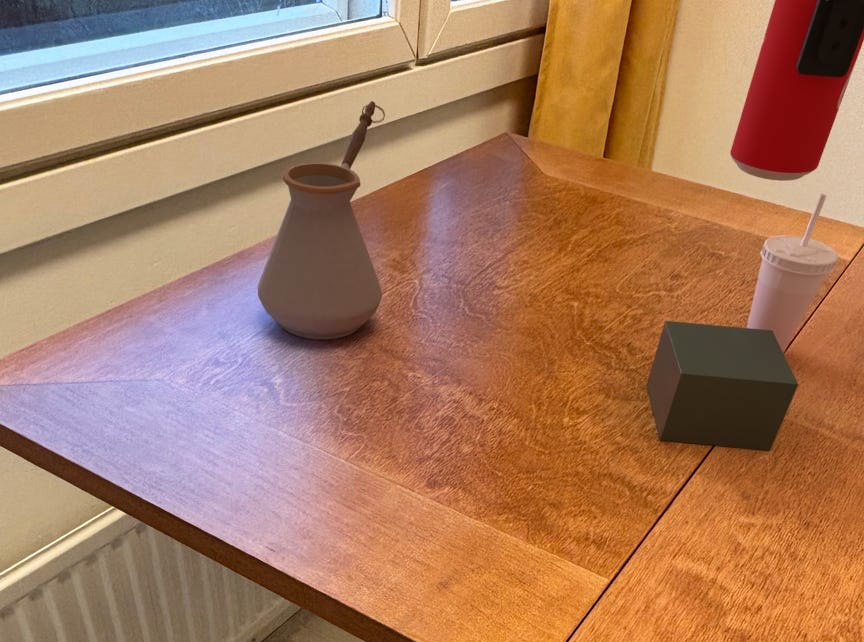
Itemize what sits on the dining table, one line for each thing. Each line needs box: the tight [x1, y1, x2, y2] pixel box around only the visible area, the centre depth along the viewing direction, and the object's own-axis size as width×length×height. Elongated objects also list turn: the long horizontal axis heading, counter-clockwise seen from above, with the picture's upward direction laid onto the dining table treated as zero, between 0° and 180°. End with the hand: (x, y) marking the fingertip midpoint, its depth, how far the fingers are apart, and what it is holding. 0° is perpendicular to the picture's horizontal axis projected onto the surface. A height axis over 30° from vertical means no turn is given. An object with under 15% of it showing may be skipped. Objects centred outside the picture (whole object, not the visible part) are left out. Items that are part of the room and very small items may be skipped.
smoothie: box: [746, 193, 839, 353], centre depth 80 cm, size 6×6×14 cm
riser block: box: [645, 320, 799, 452], centre depth 74 cm, size 9×9×6 cm
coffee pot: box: [257, 100, 386, 340], centre depth 82 cm, size 21×12×15 cm, turn 164°
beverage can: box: [729, 0, 864, 182], centre depth 61 cm, size 6×6×12 cm
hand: (807, 58), depth 60 cm, fingers closed on beverage can, 6 cm apart
